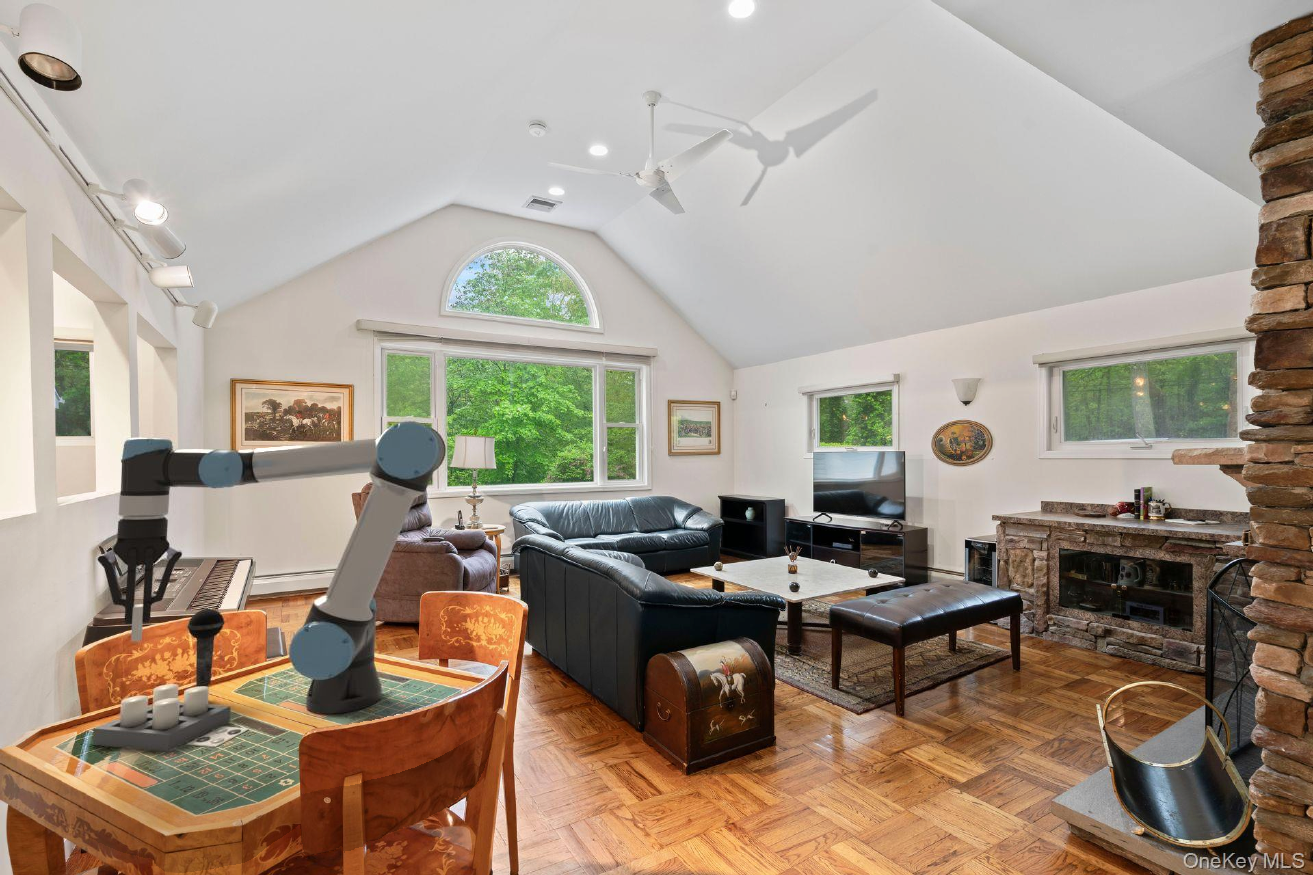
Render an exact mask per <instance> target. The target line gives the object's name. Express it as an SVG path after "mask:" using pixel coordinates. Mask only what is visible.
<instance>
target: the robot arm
mask: <svg viewBox="0 0 1313 875" xmlns="http://www.w3.org/2000/svg"><path fill="white" fill-rule="evenodd" d="M446 451H447V448H446V444H445V440H444V438H443V437H442V435H441V434H440V433H439V431H437V430H436V429H434V428H432V427H431V426H428V425H427V424H424V423H422V422H417V421H414V420H413V421H411V420H409V421H407V420H406V421H400V422H398V423H396V424H393V425H391V426H390V427H388V428H386V429H385V430H384V431H383V433H381V435H379V437H378V438H367V439H355V440H346V441H344V440H343V441H334V442H333V441H332V442H323V443H322V442H321V443H312V444H311V443H310V444H309V443H307V444H299V445H287V446H276V447H265V448H264V447H262V448H254V449H253V448H252V449H241V450H240V449H239V450H227V449H215V448H214V449H180V448H174V446H173V442H172V440H171V439H168V438H149V437H130V438H128V439H126V440H125V441H124V444H123V449H122V455H121V456H122V458H121V459H120V462H121V479H120V492H119V493H120V494H119V500H118V516H119V517H122V518H120V519H119V520H118V522H117V533H116V534H117V536H116V542H115V544H114V545H113V547H112V550H109V551H107V552H105V553H103V554H100V555H99V556H98V557H97V562H99V564H100V565H101V566H102V567H103V569H104V572H105V576H106V580H107V584H108V588H109V592H110V595H111V598H112V600H111V601H112V604H113V605H115V606H121V607H124V623H125V625H130V624H131V632H130V633H131V636H130V642H131V643H135V642H142V639H143V625H144V624H143V623H149V622H150V620H151V614H152V613H151V612H152V605H153V604H155V603H158V602H161V601H162V600H163V599H164V597H165V594H166V591H167V587H168V585H169V582H170V579H171V576H172V573H173V570H174V568H175V564H176V563H177V562H178V561H179V560H180V559H181V557H182V556H183V552H182V551H181V550H179V549H178V550H177V549H175V548H173V547H172V546H170V542H169V541H168V527H169V526H168V524H169V523H168V522H169V519H167V517H166V516H167V515H168V514H169V506H170V505H169V504H170V488H178V487H180V488H211V489H223V488H232V487H234V486H243V485H251V484H260V483H267V482H268V483H270V482H282V481H290V480H291V481H292V480H300V479H311V478H313V479H314V478H324V477H334V476H344V475H354V474H367V473H368V475H369V478H370V480H371V481H372V485H371V486H372V487H371V488H370V491H369V493H368V496H367V498H366V501H365V503H364V504H363V508H362V509H361V512H360V513H359V516H358V518H357V521H356V524H355V526H354V528H353V530H352V532H351V534H350V537H349V540H348V542H347V545H346V547H345V549H344V551H343V553H342V556H341V559H340V560H339V563H338V565H337V567H336V570H335V572H334V574H333V577H332V578H331V582H330V583H329V586H328V588H327V591H326V593H325V594H323V595H321V596H319V597H317V598H315V599H314V600H313V602H312V605H311V608H310V610H309V611H308V614H307V616H306V619H305V621H304V624H303V626H301V627H300V628H299V629H298V630H297V631H296V633H294V635H293V637H292V639H291V641H290V644H289V646H288V647H289V648H288V655H289V656H288V657H289V661H290V663H291V664H292V667H293V668H294V670H296V672H297V673H299V674H300V675H301V676H303V677H305V678H307V679H310V680H312V681H311V682H310V685H309V689H308V691H307V694H306V699H305V700H306V701H305V707H306V709H307V710H308V711H310V712H311V713H312V712H313V713H317V714H329V715H330V714H332V715H333V714H341V713H342V714H343V713H348V712H353V711H358V710H361V709H365V708H369V707H370V706H372V705H374V704H376V703H377V702H378V700H379V699H380V700H381V698H382V690H383V687H382V683H381V680H380V677H379V674H378V671H377V667H376V665H375V650H376V649H375V648H376V624H377V620H376V619H377V617H376V616H377V610H378V609H377V603H376V602H377V601H376V599H375V598H374V594H375V592H376V590H377V588H378V585H379V582H380V580H381V578H382V576H383V574H384V571H385V568H386V566H387V563H388V561H389V559H390V556H391V554H392V552H393V549H394V547H395V545H396V542H397V540H398V538H399V536H400V533H401V530H402V528H403V526H404V524H405V522H406V518H407V517H408V514H409V512H410V510H411V508H412V505H413V502H414V500H415V499H416V498H418V497H419V496H422V495H424V494H425V493H426V490H427V488H428V486H429V483H431V482H430V481H431V479H432V476H433V474H434V473H435V471H437V470H438V469H439V467H441V465H442V464H443V462H444V460H445V457H446V454H447V453H446ZM165 553H167V555H166V559H167V560H168V561H167V563H166V566H165V568H164V572H163V574H162V577H161V580H160V583H159V584H158V588H157V591H156V593H155V594H154V595H153V581H154V580H153V578H154V564H156V563H157V562H158V561H159V560H160V559H161V558H162V557H163V555H164V554H165ZM115 556H117V557H118V558H119V559H120V560H121V561H122V562H123V564H124V565H126V566H127V576H126V591H125V597H123V596H122V591H121V588H120V584H119V580H118V576H117V571H116V568H115V564H114V562H115V561H116V558H115ZM139 566H144V578H143V581H144V582H143V596H142V597H143V598H142V604H141V603H139V604H135V598H136V584H137V583H136V581H137V568H138V567H139ZM380 697H381V698H380ZM380 700H379V701H380ZM376 701H377V702H376ZM375 702H376V703H375Z"/></svg>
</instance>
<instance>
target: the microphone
mask: <svg viewBox="0 0 1313 875" xmlns="http://www.w3.org/2000/svg"><path fill="white" fill-rule="evenodd" d="M225 622H226V621H225V619H224V616H223V615H222V613H221V612H220V611H218V610H216V609H212V608H206V609H202V610H199V611H197V612H196V613H195V614H193V615H192V616H191V617H190V619H189V621H188V624H187V626H186V628H187V630H188V632H189V635H191V636H192V637H193V638H194V639H196V656H195V657H196V662H195V663H196V665H195V666H196V670H195V671H196V673H195V674H196V675H195V676H196V678H195V680H196V682H195V683H196V686H195V687H200V686H206V687H209V685H211V682H212V669H213V658H214V647H215V646H214V645H215V644H214V643H215V637H216V636H218V634H220V632H221V631H222V629H223V627H224V625H225Z"/></svg>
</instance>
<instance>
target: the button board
mask: <svg viewBox="0 0 1313 875" xmlns="http://www.w3.org/2000/svg"><path fill="white" fill-rule="evenodd" d="M183 707H184V701H182V702H181V701H180V708H179V724H178V725H177V726H175V727H173V728H170V729H166V730H153V729H152V721H153V713H152V709H153V704H151V705H148V710H147V722H146V723H144V724H141V725H139V726H135V727H128V728H123V727H120V717H119V718H117V719H114V720H112V721H109V722H106V723H104V724H101V725H99V726H96V727H93V730H92V731H93V736H92V745H93V746H102V747H103V746H104V747H114V748H125V749H137V750H147V751H156V752H170V751H172V750H174V749H176V748H178V747H180V746H182V745H184V744H186V743H189V742H191V741H193V740H195V739H197V738H199V737H202V736H204V735H206V734H208V733H210V732H212V731H214V730H216V729H218V728H220V727H222V726H224V724H227V723H229V722H230V721H231V708H232V707H231V705H220V704H209V703H208V711H207V712H206V713H204V714H201V715H197V716H190V717H188V716H183Z"/></svg>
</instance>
